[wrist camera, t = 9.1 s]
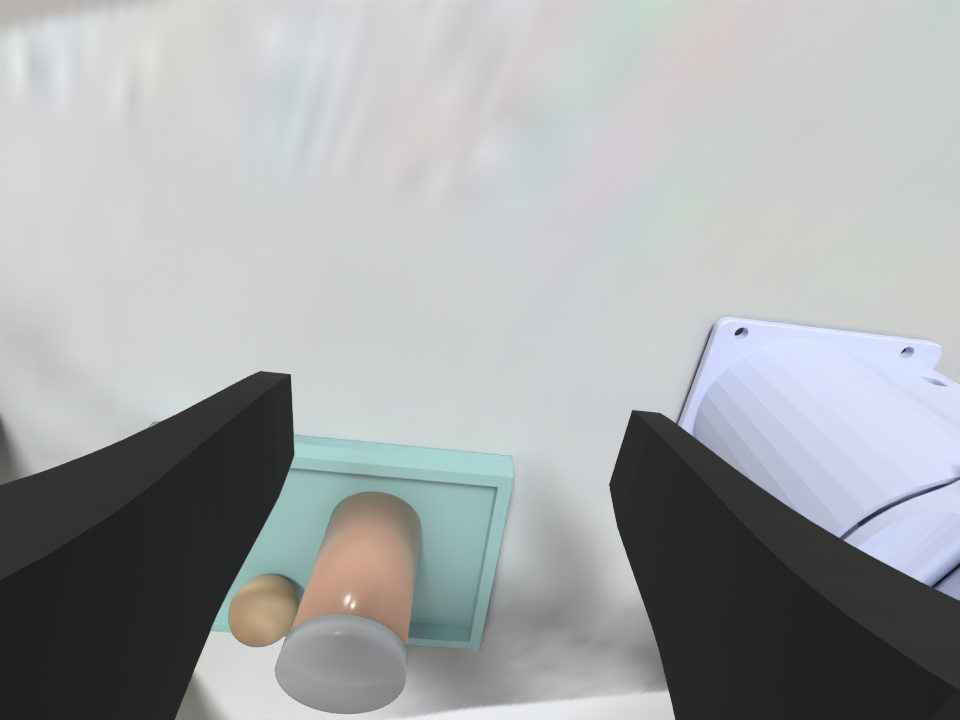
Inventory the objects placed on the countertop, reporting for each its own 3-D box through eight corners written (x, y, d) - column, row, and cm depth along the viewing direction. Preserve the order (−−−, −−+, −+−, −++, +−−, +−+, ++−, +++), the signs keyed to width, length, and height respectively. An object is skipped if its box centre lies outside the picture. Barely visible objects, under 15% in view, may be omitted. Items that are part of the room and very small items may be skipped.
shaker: (428, 496, 24) (411, 642, 17) (417, 565, 26) (399, 718, 19) (329, 484, 23) (274, 629, 17) (326, 554, 25) (275, 708, 19)
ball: (306, 562, 26) (284, 620, 23) (307, 605, 27) (288, 664, 24) (241, 557, 25) (211, 615, 22) (246, 600, 27) (219, 659, 24)
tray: (511, 456, 23) (513, 477, 22) (479, 624, 29) (479, 650, 27) (153, 421, 22) (133, 441, 21) (189, 603, 28) (175, 628, 26)
